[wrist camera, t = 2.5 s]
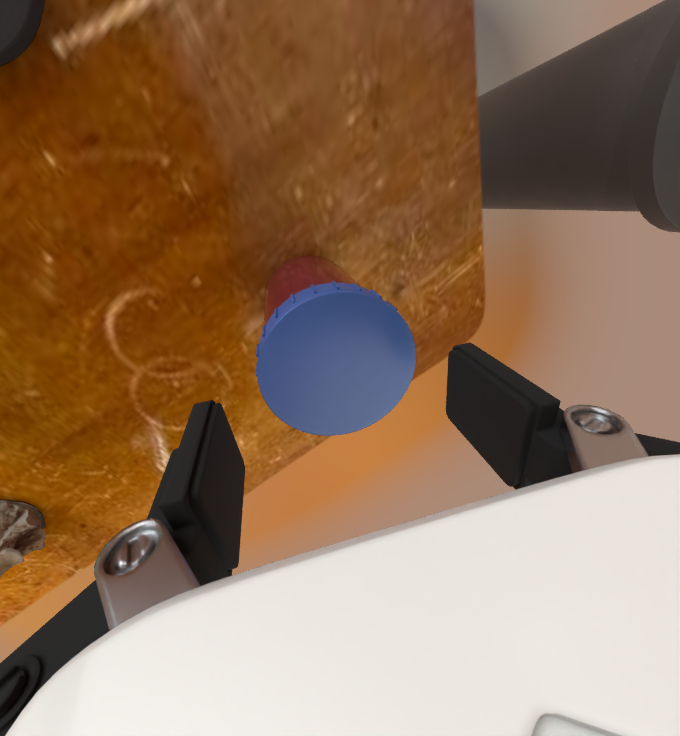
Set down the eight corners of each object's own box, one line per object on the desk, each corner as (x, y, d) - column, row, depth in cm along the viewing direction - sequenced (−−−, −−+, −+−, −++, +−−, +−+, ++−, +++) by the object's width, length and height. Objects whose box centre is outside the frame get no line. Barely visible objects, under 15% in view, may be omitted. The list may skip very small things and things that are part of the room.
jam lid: (401, 268, 13) (417, 275, 12) (404, 399, 16) (417, 417, 15) (237, 296, 12) (233, 309, 11) (276, 429, 16) (277, 451, 14)
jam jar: (347, 248, 21) (406, 280, 12) (356, 333, 24) (409, 409, 15) (254, 264, 20) (243, 310, 11) (276, 350, 24) (281, 440, 15)
